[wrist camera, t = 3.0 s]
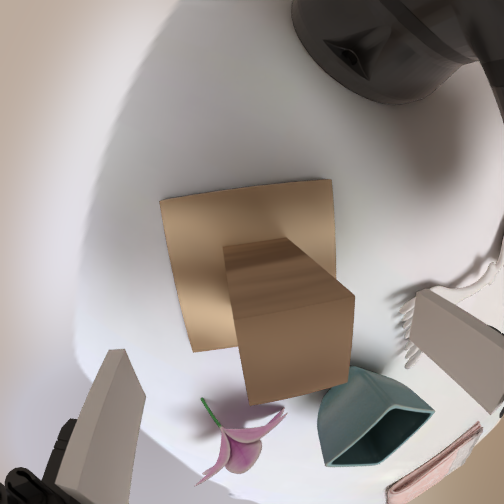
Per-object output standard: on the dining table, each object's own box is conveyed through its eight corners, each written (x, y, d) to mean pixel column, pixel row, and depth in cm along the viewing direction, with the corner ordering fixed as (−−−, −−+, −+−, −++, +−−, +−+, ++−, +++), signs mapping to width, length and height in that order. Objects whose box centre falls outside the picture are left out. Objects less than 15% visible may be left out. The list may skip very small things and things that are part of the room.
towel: (459, 456, 55) (465, 464, 49) (385, 504, 54) (390, 514, 49) (479, 417, 44) (488, 427, 39) (384, 485, 43) (391, 499, 38)
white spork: (383, 297, 24) (403, 312, 21) (520, 194, 24) (536, 197, 21) (393, 357, 27) (408, 374, 23) (522, 245, 27) (536, 250, 24)
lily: (185, 436, 27) (225, 497, 20) (133, 409, 19) (179, 502, 12) (265, 388, 30) (314, 444, 24) (244, 344, 23) (314, 426, 16)
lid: (162, 200, 18) (100, 229, 8) (326, 179, 19) (430, 188, 9) (193, 345, 21) (188, 455, 11) (331, 320, 23) (397, 405, 12)
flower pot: (297, 404, 26) (322, 468, 17) (347, 345, 24) (393, 404, 16) (350, 415, 28) (379, 465, 20) (395, 364, 27) (437, 410, 18)
